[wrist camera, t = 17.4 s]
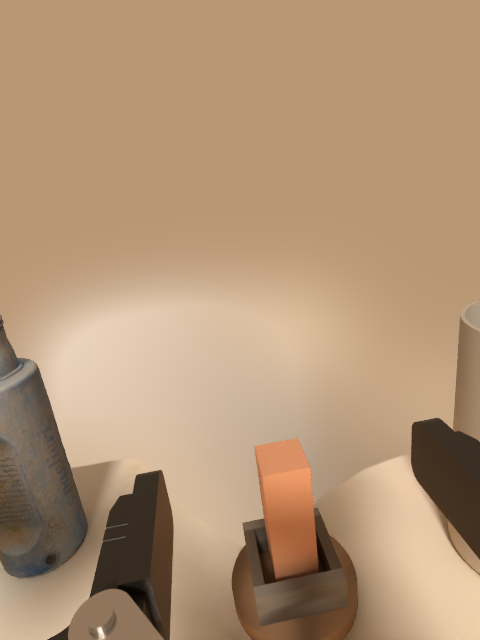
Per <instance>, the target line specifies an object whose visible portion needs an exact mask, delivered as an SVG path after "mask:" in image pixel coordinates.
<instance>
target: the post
mask: <svg viewBox="0 0 480 640" xmlns="http://www.w3.org/2000/svg"><path fill="white" fill-rule="evenodd" d="M255 455H256V462H257V469H258V476H259V484H260V491H261V498H262V505H263V513H264V520H265V528H266V535H267V542H268V549H269V557H270V563H271V567H272V572H273V576H274V581H275V582H280V581H284V580H289V579H293V578H298V577H303V576H307V575H312V574H316V573H319V567H318V555H317V543H316V531H315V519H314V507H313V497H312V496H313V495H312V484H311V471H310V466H309V463H308V461H307V459H306V457H305V454H304V452H303V450H302V448H301V445H300V443H299V441H298V439H291V440H286V441H280V442H275V443H269V444H264V445H259V446H255Z"/></svg>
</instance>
